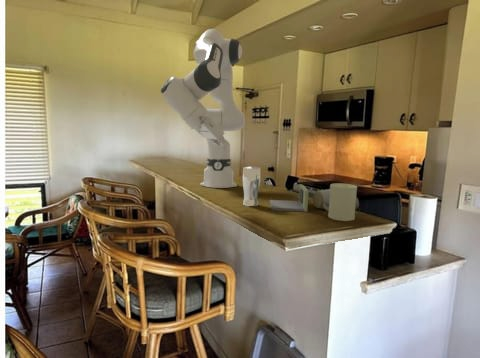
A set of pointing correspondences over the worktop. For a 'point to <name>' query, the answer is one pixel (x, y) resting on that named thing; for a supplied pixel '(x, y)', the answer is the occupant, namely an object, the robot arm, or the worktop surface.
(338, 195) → the can
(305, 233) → the worktop surface
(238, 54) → the robot arm
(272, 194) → the worktop surface
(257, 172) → the beer glass
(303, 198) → the chute mount
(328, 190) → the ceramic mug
